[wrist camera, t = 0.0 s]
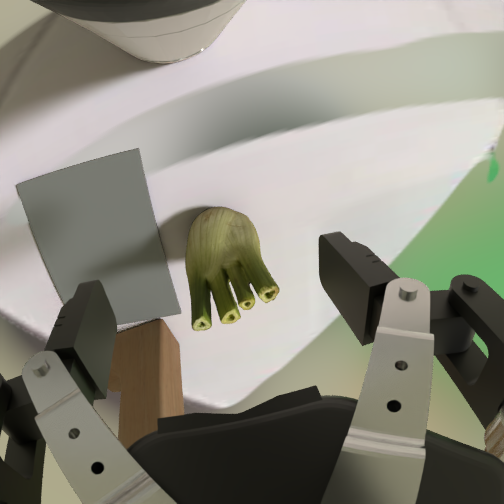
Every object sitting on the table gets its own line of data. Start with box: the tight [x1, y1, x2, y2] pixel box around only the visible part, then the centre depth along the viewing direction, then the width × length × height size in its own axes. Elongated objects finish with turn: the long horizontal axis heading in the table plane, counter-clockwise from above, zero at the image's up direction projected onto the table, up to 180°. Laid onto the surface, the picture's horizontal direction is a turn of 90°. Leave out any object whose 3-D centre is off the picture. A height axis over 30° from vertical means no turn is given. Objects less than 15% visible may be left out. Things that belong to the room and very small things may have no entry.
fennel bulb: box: [185, 207, 279, 331], centre depth 24 cm, size 6×5×12 cm
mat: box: [17, 148, 181, 325], centre depth 28 cm, size 17×12×1 cm
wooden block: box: [108, 319, 184, 449], centre depth 26 cm, size 9×4×18 cm, turn 108°
